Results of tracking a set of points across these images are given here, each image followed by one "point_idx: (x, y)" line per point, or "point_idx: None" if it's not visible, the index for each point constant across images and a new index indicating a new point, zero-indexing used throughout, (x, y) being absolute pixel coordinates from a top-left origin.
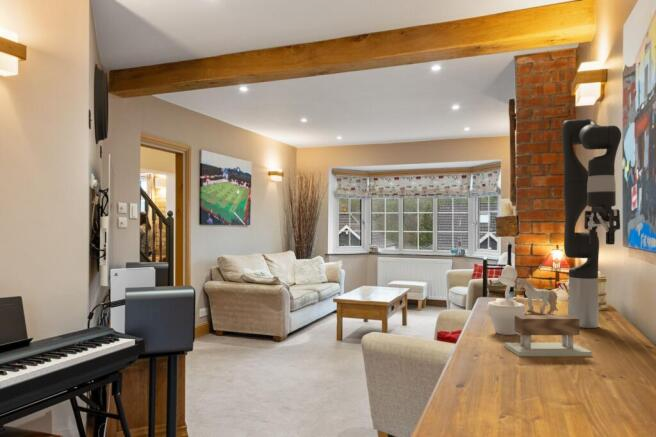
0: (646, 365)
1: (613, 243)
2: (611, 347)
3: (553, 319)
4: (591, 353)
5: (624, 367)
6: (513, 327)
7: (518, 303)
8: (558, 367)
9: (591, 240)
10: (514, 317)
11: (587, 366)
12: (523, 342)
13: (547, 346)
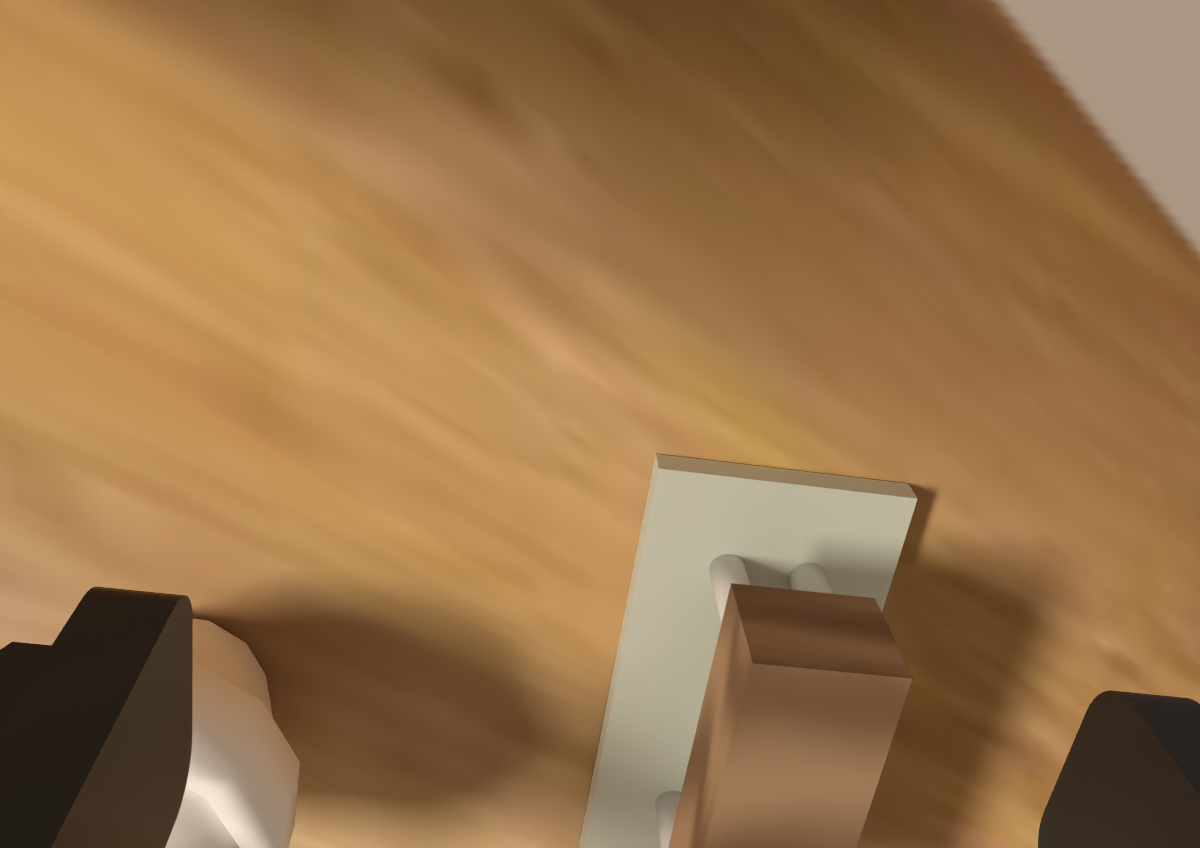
0: (1194, 287)
1: (1179, 723)
2: (733, 159)
3: (854, 845)
4: (913, 494)
5: (1169, 457)
6: (271, 712)
7: None
8: (1033, 784)
9: (156, 832)
10: (295, 789)
11: (1073, 641)
12: None
13: None
